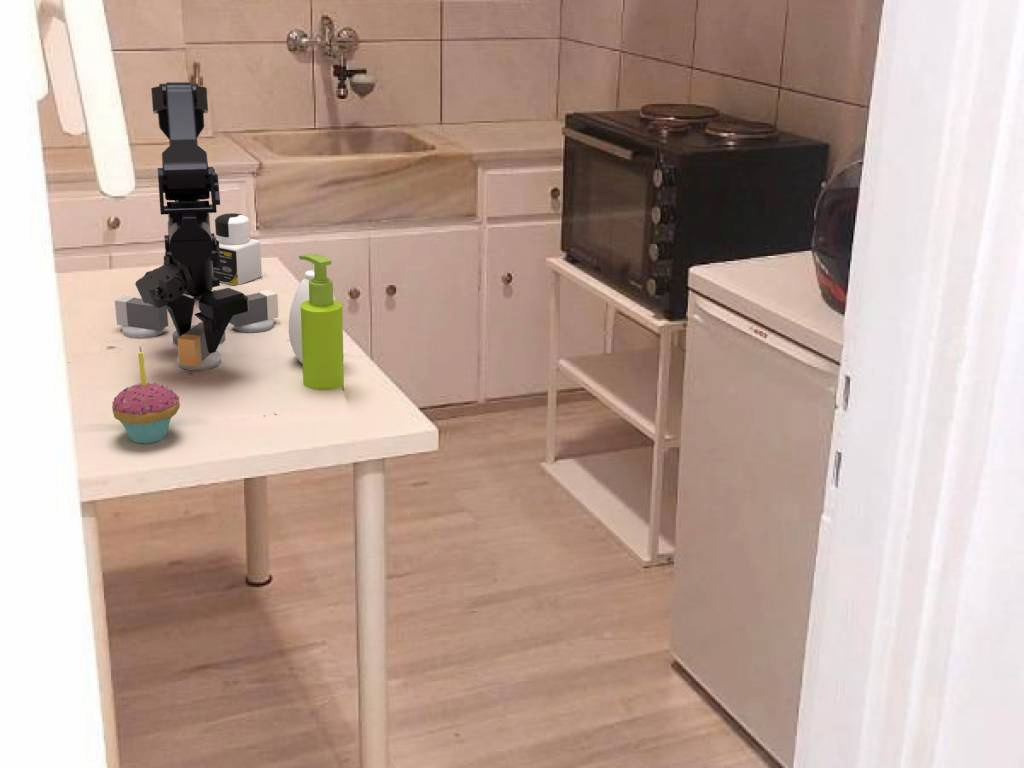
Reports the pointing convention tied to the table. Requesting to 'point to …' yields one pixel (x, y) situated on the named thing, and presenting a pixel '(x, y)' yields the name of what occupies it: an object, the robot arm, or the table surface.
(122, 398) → the cupcake
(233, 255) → the medicine bottle
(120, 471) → the table surface
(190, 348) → the knob
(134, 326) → the knob near
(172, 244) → the robot arm
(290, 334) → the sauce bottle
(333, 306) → the soap dispenser
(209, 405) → the table surface
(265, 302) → the knob
